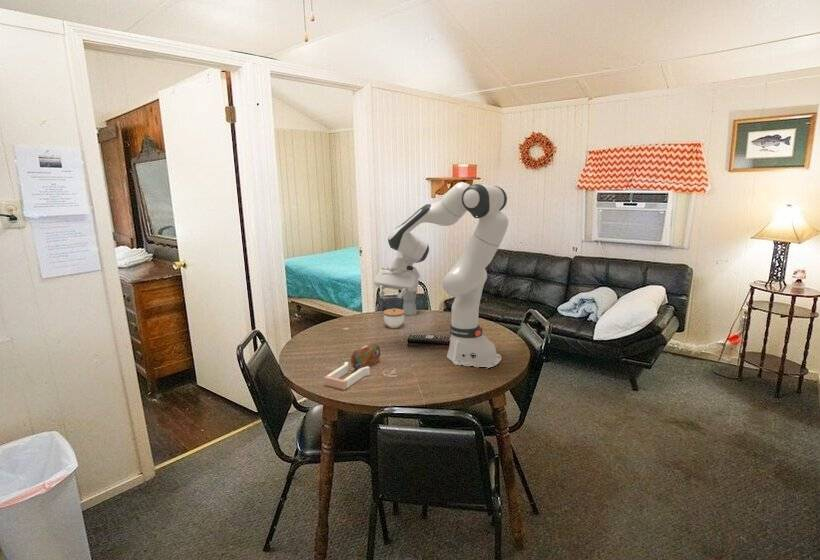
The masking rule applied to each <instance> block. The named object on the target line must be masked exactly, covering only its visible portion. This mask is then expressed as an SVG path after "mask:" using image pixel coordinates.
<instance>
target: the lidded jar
mask: <svg viewBox="0 0 820 560" xmlns="http://www.w3.org/2000/svg"><path fill="white" fill-rule="evenodd" d="M404 313H405V312H404V310H403V308H402V309H401V308H395V307H393V308H387V309H385V310H384V311H383V320H384V323H385V324H386V325H387V327H388V328H391V329H396V328H400V327H401V326H402V325H403V323H404V321H405V315H404Z"/></svg>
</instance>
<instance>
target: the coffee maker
mask: <svg viewBox="0 0 820 560" xmlns="http://www.w3.org/2000/svg"><path fill="white" fill-rule="evenodd" d="M397 291H398V293H401V292H402V291H403V290H397ZM417 294H418V289H417V290H416V291H414V292H412V291H407V292H406V293H405V294H404V295H403V296H402V298H401V300H403V305H402V310H404V312H405V313H404V316H408V317H410V316H415V315H417V314H418V313H417V307H416V299H417Z"/></svg>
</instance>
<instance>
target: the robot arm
mask: <svg viewBox="0 0 820 560" xmlns="http://www.w3.org/2000/svg"><path fill="white" fill-rule="evenodd" d="M507 202H508V196H507V193H506V191H505V190H504V189H503V188H502V187H500V186H498V185H491V184H490V183H489V184H487V183H486V184H485V183H475V184H469V183H467V182H463V181H460V182H457V183H456V184H455V185H453V187H451V188H449V190H447V192H445V194H444V195H443V196H442V197H441V199H439V200H438V201H436V202H433V203H432V204H430V203H427V204H424V205H423V206H422V207H420V208H419V209H418V210H416V211H415V212H414V213H413V214H411V216H409V217H408V218H407V219H406V220H405V221H404V222H402V223H401V224H400V225H398V226H396V227H395V228H394V229H393V230H392V231H391V232H390V233H389V236H388V237H387V241H388V242H387V243H388V245H389V247H390V249H392V250H394V251H397V252H396V257H395V258H394V260H393V262H392V263H391V264H392V265H391V267H390V268H387V267H382V268H380V269H379V270H378V272H377V274H376V275H375V278H374V279H373V283H374V285H375V286H376V287H378V288H379V289H380V290H379V292H378V293H379V296H381V297H384V295H385V291H384V290H385V289H392V290H397V291H398V290H401V293H399V292H398V293H397V296H396V297H397V299H401V298H402V296H403V295H404V294H405V293H406V292H407V291H412V292H414V291H416V290H417V291H418V286H419V282H420V280H419V279H420V277H421V275H420V273H419V270H418V269H417V267H415V266H414V264H418V263H421V262H424V261H425V260H426V259H427V257H428V256H429V252H430V247H429V243H427V241H425V240H423V239H422V238H420V237H418V236H416V235H415V234H414V233H411V231H413V230H414V229H416V228H417V227H418V226H419V225H420V224H423V223H428V224H429V223H430V224H434V225H438V226H443V227H448V226H449V227H450V226H453V225H455V224H456V223H457V222H459V220H460V219H461V218H462V217H464V215H465V214H466V213H467V212H468V213H470V215H471V216H472V217H473V218H474V219H478V223H477V226H476V228H475V230H474V232H473V234H472V235H471V238H470V239H469V242H468V243H467V246H466V247H465V248H464V251H463V252H461V255H460V256H459V257H458V259H457V260H456V261H455V263H453V266H451V269H450V270H449V271H448V273H446V275H444V277H443V279H442V287H443V290H444V291H445V293H446V294H447V295H449V296H451V297H454V300H453V302H452V305H451V311H450V312H451V316H450V317H451V323H450V326H449V337H450V339H449V340H450V341H449V346H448V351H447V354H446V358H447V359H448V360H450V361H451V362H452V364H453V365H455V366H461V365H463V366H464V367H470V366H474V367H473V368H479V367H488V368H489V367H493V366H495V365H497V364H498V363H499V362H500V360H501V361H502V356H501V355H500V354H499V353H497V349H496V345H495V344H494V343H493V342H492V341H491V340H490V339H488V338H487V337H486V336H485V335H484V334H483V332H484V331H483V330H484V326H482V327H481V326H480V324H479V312H480V310H479V309H480V308H479V307H480V302H481V299H482V294H483V289H484V286H485V283H486V281H487V279H488V272H487V270H486V268H487V267H488V266H489V265H490V263H492V261H493V258H494V257H495V255H496V253H497V251H498V250H499V247H500V245H501V243H502V241H503V240H504V237H505V235H506V232H507V229H508V225H509V219H508V217H507V216H506V214H504V213H503V212H502V211H503V209H504V208H505V207H506V206H507ZM402 290H403V291H402ZM401 300H402V299H401ZM498 357H500V358H498ZM500 363H501V362H500ZM463 366H462V367H463ZM488 368H487V369H488Z"/></svg>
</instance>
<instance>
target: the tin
mask: <svg viewBox="0 0 820 560" xmlns="http://www.w3.org/2000/svg"><path fill="white" fill-rule="evenodd" d="M380 357H381V348H380V345H378V344H376V343H367V344H365V345H364V346H361V347H359V348H357V349H355V350H354V351H353V352H352V354H351V357H350V364H351V367H352V368H353V369H354V370H356V371H357V370H358V369H360V368H363V367H367V366H369V367H371V366H374V365H375V364H376V363H377V362H379V359H380Z"/></svg>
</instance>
